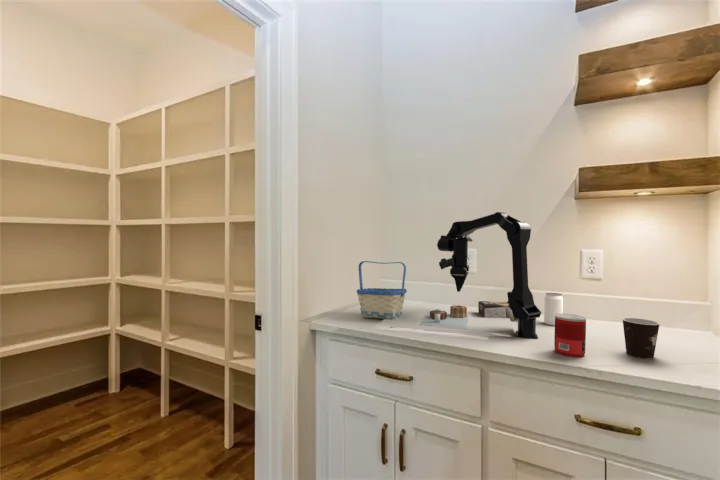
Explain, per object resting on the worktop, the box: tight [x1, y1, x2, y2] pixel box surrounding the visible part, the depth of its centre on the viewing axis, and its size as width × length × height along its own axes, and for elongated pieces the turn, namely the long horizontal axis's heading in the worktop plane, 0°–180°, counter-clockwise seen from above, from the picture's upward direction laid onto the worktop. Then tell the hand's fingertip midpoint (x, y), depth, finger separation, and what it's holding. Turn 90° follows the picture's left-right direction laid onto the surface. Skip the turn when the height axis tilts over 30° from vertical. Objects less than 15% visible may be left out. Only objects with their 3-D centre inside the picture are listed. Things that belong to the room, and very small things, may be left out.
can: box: [543, 292, 564, 327], centre depth 143 cm, size 6×6×12 cm
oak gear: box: [449, 304, 468, 318], centre depth 149 cm, size 6×6×4 cm
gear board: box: [418, 311, 469, 330], centre depth 143 cm, size 24×17×4 cm
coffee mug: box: [622, 317, 660, 359], centre depth 106 cm, size 12×9×10 cm
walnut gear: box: [429, 308, 448, 320], centre depth 146 cm, size 7×7×3 cm
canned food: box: [553, 313, 587, 358], centre depth 107 cm, size 8×8×11 cm
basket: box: [356, 260, 407, 320], centre depth 151 cm, size 21×16×24 cm
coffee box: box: [477, 300, 518, 322], centre depth 152 cm, size 9×6×16 cm
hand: (459, 289), depth 149 cm, fingers open, 9 cm apart
